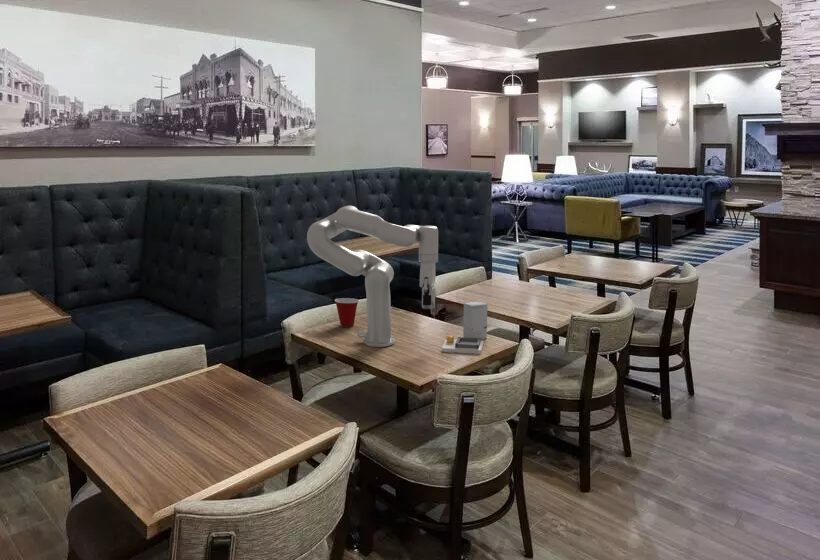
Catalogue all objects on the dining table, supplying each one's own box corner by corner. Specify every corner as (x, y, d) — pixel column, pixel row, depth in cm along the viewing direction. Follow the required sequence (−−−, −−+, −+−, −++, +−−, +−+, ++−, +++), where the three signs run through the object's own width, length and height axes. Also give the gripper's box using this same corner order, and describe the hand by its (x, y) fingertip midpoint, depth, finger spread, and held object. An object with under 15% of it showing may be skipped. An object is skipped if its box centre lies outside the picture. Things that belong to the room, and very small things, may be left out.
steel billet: (421, 308, 246) (421, 288, 245) (423, 305, 251) (423, 286, 249) (433, 309, 245) (433, 289, 244) (435, 306, 250) (435, 286, 249)
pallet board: (441, 351, 243) (441, 344, 242) (446, 342, 254) (446, 335, 253) (480, 354, 240) (480, 346, 239) (483, 344, 251) (483, 337, 251)
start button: (445, 342, 248) (445, 337, 248) (447, 340, 251) (447, 335, 251) (453, 342, 248) (453, 337, 247) (454, 340, 251) (454, 335, 250)
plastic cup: (364, 324, 281) (364, 298, 278) (349, 330, 272) (349, 303, 269) (345, 320, 287) (344, 295, 284) (330, 326, 278) (329, 300, 275)
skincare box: (470, 341, 255) (470, 305, 252) (462, 337, 260) (462, 302, 257) (487, 338, 259) (488, 303, 256) (479, 334, 264) (479, 300, 261)
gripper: (422, 253, 253) (422, 297, 257) (414, 261, 237) (414, 308, 240) (441, 254, 252) (440, 298, 255) (434, 262, 235) (434, 309, 239)
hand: (428, 302), depth 248 cm, fingers closed on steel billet, 5 cm apart
